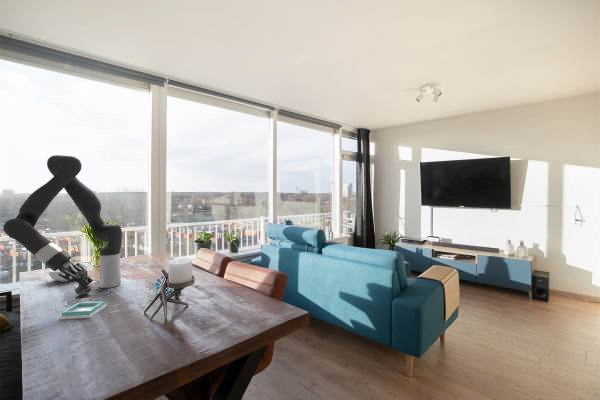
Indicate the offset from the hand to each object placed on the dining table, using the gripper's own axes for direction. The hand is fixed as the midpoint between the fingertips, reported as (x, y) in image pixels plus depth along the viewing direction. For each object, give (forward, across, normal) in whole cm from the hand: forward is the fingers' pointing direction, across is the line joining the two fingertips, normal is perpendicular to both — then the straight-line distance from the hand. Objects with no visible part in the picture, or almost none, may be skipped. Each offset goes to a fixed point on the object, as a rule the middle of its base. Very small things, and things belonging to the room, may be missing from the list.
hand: (88, 283), depth 119 cm
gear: (+28, +19, -11) cm, 35 cm away
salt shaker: (+2, 0, +5) cm, 6 cm away
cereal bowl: (-13, +58, +30) cm, 66 cm away
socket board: (+7, 0, +10) cm, 12 cm away
